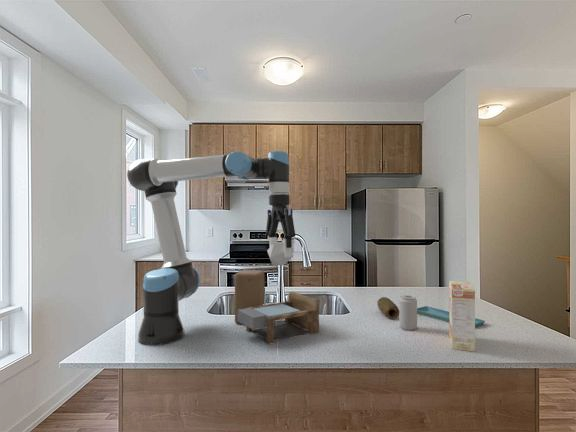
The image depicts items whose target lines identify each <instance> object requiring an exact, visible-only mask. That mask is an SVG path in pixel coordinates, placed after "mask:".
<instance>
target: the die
mask: <svg viewBox="0 0 576 432" xmlns="http://www.w3.org/2000/svg"><path fill="white" fill-rule="evenodd" d="M267 255H268V257H269V260H270V262H271V265H277V266H284V265H286V264H287V263H288V262H289V261H290V260H291V259H292V258H293V257H294V254H293V251H291V257H284V241H277V242H276V243H274V244H273V245H272V246H271V247H270V246H269V248H268V249H267Z"/></svg>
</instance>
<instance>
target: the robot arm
mask: <svg viewBox="0 0 576 432" xmlns="http://www.w3.org/2000/svg"><path fill="white" fill-rule="evenodd" d="M126 177H127V180H128V182H129V184H130V185H131V186H132V187H133V188H134V189H136V190H138V191H142V192H144V196H145V199H146V201H147V202H150V205H151V209H152V212H153V217H154V222H155V223H154V224H155V227H156V232H157V237H158V241H159V246H160V249H161V251H160V252H161V256H162V260H163V265H162V266H161V267H160V268H158V269H153V270H151V271H148V272H147V273H145V275H144V276H143V283H142V288H143V295H142V296H143V297H142V298H143V319H142V321H141V324H140V327H139V331H138V335H137V336H138V337H137V338H138V339H137V341H138V342H139V343H141V344H145V345H151V346H152V345H156V346H157V345H165V344H170V343H175V342H177V341H180V340H181V339H183V338H184V336H185V335H184V334H185V330H184V329H185V328H184V325H183V323H182V320H181V317H180V315H179V313H180V312H179V311H180V310H179V305H180V304H179V302H180V301H181V300H183V299H187V298H189V297H192V295H193V294H195V293H196V292H197V291H198V289H199V287H200V285H201V276H200V273H199V271H198V270H197V269H196V268H195V267H194V265H193V262H192V260H191V259H189V258H188V257H187V253H186V249H185V244H184V240H183V235H182V230H181V226H180V222H179V221H180V220H179V217H178V212H177V208H176V203H175V197H176V195H177V194H178V193H177V186H178V185H179V182H182V181H183V182H185V181H191V180H193V181H194V180H195V181H196V180H205V179H206V180H207V179H214V178H216V179H217V178H229V177H230V178H231V177H237V179H239V180H247V181H248V180H259V179H265V180H266V179H268V194H270V195H269V196H268V203H269V204H268V205H269V206H271V207H272V208H271V209H268V210H267V220H266V221H267V222H266V229H265V235H266V236H268V238H269V248H270V247H271V246H272V245H273V244H274V243H276V242H278V237H277V231H278V227H279V224H280V225H281V229H282V231H283V235H284V237H283V242H284V257H291V252H292V243H293V242H292V240H293V238H295V237H296V230H295V224H294V217H293V216H294V215H293V213H294V212H293V209H292V208H288V206H289V205H290V204H291V202H290V201H291V199H290V195H289V193H290V158H289V154H288V152H286V151H283V150H276V151H275V150H274V151H269V152H268V155H267V157H264V158H255V157H252V156H250V155H248V154H247V153H245V152H242V151H238V150H237V151H232V152H229V153H228V154H218V155H217V154H216V155H208V156H199V157H188V158H186V157H185V158H179V159H166V160H160V159H158V158H141V159H137V160H135V161H133V162H132V163H131V164H130V165H129V167H128V169H127V172H126Z"/></svg>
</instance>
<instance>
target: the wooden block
mask: <svg viewBox="0 0 576 432" xmlns="http://www.w3.org/2000/svg"><path fill="white" fill-rule="evenodd" d="M263 304H264V305H265V272H264V270H254V269H251V270H249V269H243V270H240V271H237V272H236V273H235V274H234V322H235V324H238V325H243V324H242V323H240V322H238V321H237V310H240V309H246V308H248V307H256V306H262V305H263Z"/></svg>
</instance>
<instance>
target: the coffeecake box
mask: <svg viewBox="0 0 576 432" xmlns="http://www.w3.org/2000/svg"><path fill="white" fill-rule="evenodd" d="M448 283H449V285H448V286H449V287H448V289H449V297H448V300H449V302H448V303H449V307H448V308H449V310H448V312H449V322H448V323H449V331H448V332H449V335H448V336H449V342H450V346H451V349H452V350H458V351H467V352H476V327H475V318H476V290H475V288H474V286H473V284H472V282H470V281H464V280H463V281H462V280H449V281H448Z"/></svg>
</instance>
